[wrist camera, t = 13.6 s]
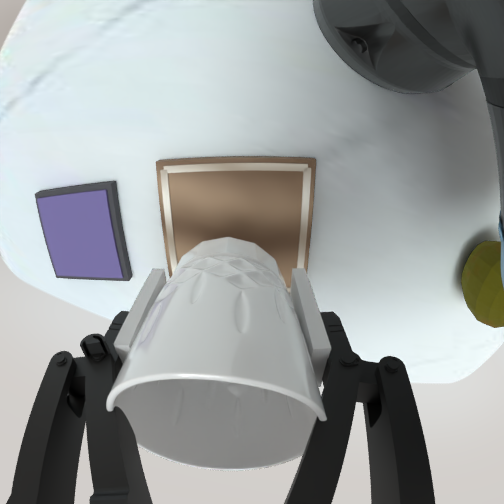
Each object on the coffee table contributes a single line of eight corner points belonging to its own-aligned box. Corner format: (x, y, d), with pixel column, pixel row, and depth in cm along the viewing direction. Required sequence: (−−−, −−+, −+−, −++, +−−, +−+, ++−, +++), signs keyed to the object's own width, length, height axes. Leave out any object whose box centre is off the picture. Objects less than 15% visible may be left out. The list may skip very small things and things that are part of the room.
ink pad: (40, 191, 23) (33, 194, 22) (115, 180, 23) (109, 184, 22) (60, 273, 27) (55, 279, 26) (132, 275, 27) (128, 282, 26)
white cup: (240, 198, 15) (229, 330, 6) (316, 296, 18) (359, 438, 9) (141, 274, 17) (72, 406, 8) (220, 349, 20) (209, 478, 11)
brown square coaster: (159, 160, 22) (155, 162, 21) (313, 157, 22) (316, 159, 21) (174, 289, 28) (172, 295, 27) (302, 289, 28) (304, 296, 27)
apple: (448, 242, 26) (508, 296, 16) (499, 217, 24) (557, 257, 15) (447, 306, 30) (489, 362, 20) (495, 279, 29) (538, 323, 19)
